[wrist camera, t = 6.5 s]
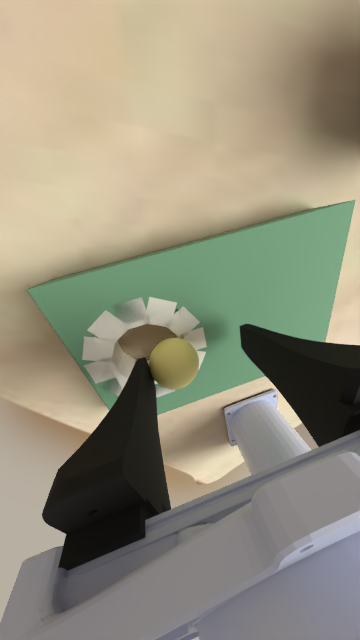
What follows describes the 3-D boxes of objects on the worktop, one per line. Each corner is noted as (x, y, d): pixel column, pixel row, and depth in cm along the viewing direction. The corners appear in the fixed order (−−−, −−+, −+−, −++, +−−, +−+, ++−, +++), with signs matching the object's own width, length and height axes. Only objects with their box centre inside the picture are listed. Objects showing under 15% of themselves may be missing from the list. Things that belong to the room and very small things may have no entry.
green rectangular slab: (298, 340, 20) (322, 354, 18) (124, 401, 18) (121, 428, 16) (314, 208, 14) (355, 199, 11) (51, 279, 12) (26, 289, 9)
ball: (164, 371, 15) (204, 362, 14) (154, 405, 11) (206, 396, 11) (148, 335, 13) (191, 324, 13) (133, 362, 10) (189, 349, 9)
